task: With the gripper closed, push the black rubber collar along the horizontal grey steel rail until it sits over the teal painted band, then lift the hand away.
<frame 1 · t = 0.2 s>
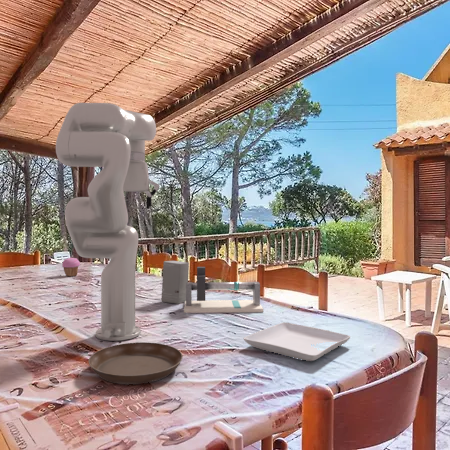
hand: (133, 208, 141), 36 cm above the table, tool pointing down, fingers open, 9 cm apart
collar: (201, 282, 150), point 9 cm above the table, slide at 0.0 cm
cupcake: (71, 276, 219), on the table
salad plate: (297, 349, 108), on the table
rail: (222, 293, 151), on the board, point 5 cm above the table
board: (222, 307, 151), on the table
plant saucer: (136, 371, 92), on the table
skincare box: (175, 302, 160), on the table
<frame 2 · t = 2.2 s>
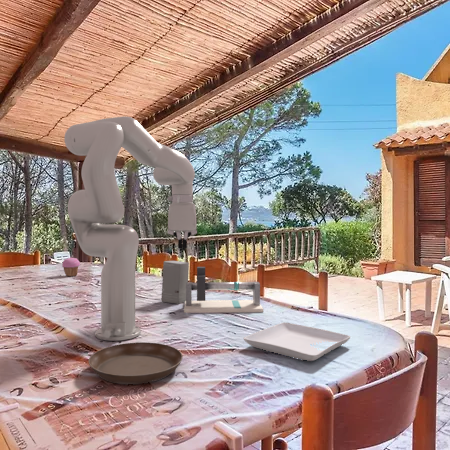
hand: (182, 250, 149), 21 cm above the table, tool pointing down, fingers closed
nothing on the table moved.
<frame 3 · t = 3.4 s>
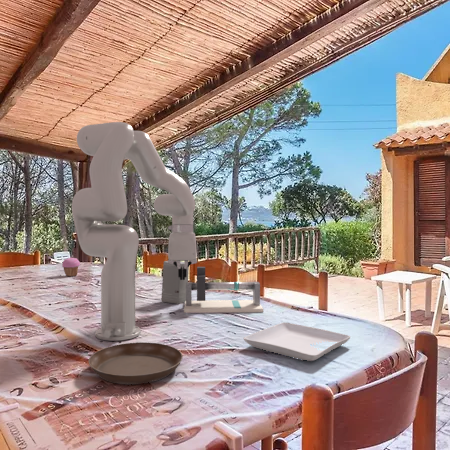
hand: (182, 279, 149), 11 cm above the table, tool pointing down, fingers closed
nothing on the table moved.
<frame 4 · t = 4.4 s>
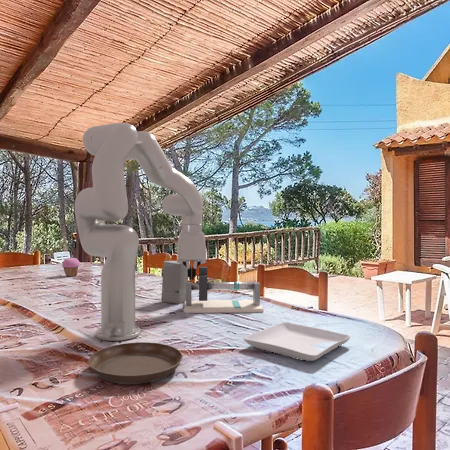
hand: (191, 279, 150), 11 cm above the table, tool pointing down, fingers closed
collar: (203, 282, 150), point 9 cm above the table, slide at 0.8 cm, touching gripper
everything else where it was.
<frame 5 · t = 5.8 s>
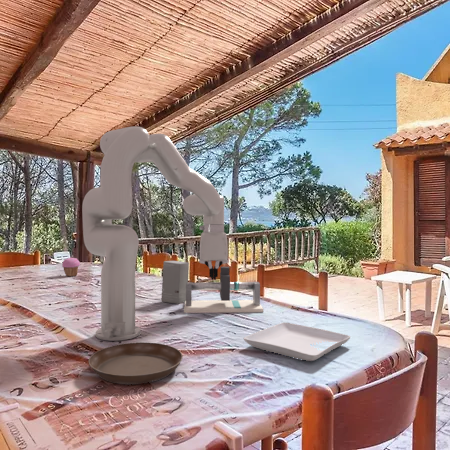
hand: (213, 278, 150), 11 cm above the table, tool pointing down, fingers closed
collar: (224, 282, 150), point 9 cm above the table, slide at 8.8 cm, touching gripper
everything else where it was.
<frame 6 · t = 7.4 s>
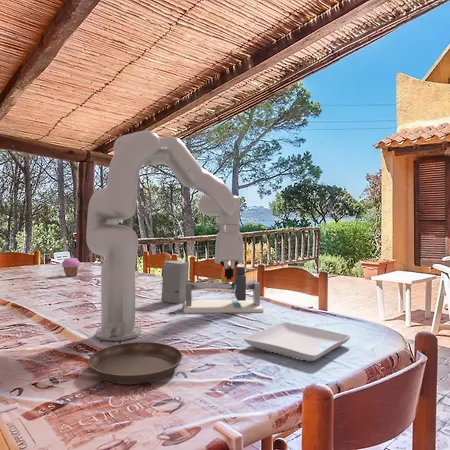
hand: (229, 278, 151), 11 cm above the table, tool pointing down, fingers closed
collar: (240, 282, 151), point 9 cm above the table, slide at 14.5 cm, touching gripper
everything else where it was.
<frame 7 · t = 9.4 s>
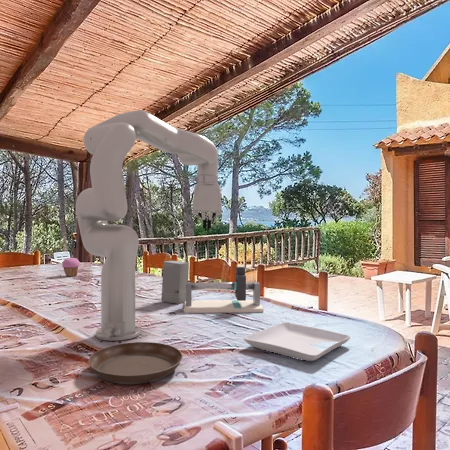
hand: (206, 230, 151), 28 cm above the table, tool pointing down, fingers closed
collar: (240, 282, 151), point 9 cm above the table, slide at 14.5 cm
everything else where it was.
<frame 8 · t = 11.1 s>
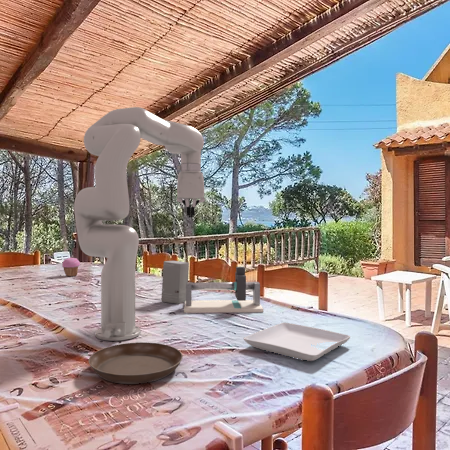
hand: (190, 217, 156), 33 cm above the table, tool pointing down, fingers closed
nothing on the table moved.
at the end: collar slide at 14.5 cm; collar moved 14.5 cm from its start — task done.
